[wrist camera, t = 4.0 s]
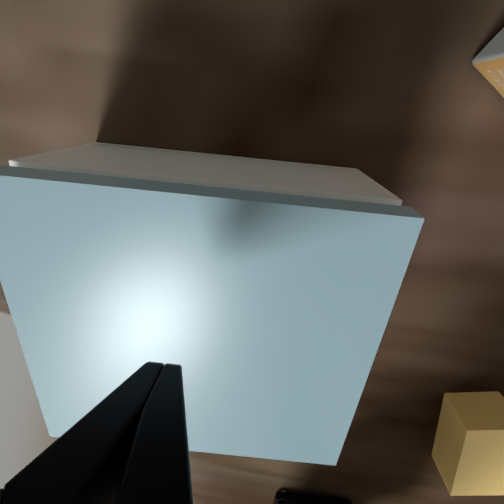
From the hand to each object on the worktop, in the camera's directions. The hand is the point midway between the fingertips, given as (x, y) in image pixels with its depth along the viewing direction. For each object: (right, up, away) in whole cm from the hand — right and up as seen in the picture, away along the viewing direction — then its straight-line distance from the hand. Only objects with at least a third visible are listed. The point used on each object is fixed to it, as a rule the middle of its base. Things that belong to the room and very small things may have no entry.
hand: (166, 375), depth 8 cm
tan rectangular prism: (+17, -9, +15) cm, 25 cm away
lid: (0, 0, +5) cm, 5 cm away
